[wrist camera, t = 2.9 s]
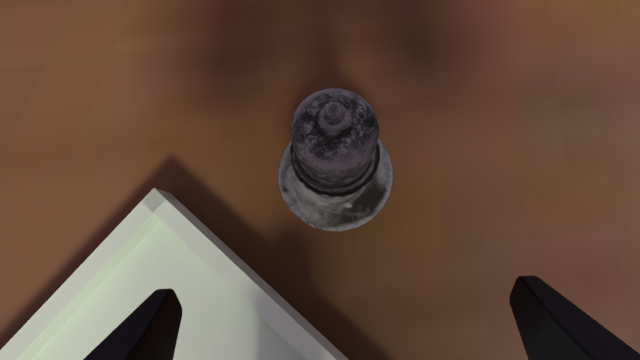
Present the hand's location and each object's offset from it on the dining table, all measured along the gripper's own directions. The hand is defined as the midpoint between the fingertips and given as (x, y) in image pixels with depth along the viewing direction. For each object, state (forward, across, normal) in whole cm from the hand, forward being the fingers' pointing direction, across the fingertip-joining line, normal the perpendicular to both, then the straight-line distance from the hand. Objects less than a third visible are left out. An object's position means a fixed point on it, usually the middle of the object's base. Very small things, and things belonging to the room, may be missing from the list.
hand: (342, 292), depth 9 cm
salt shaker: (+11, 0, +5) cm, 12 cm away
